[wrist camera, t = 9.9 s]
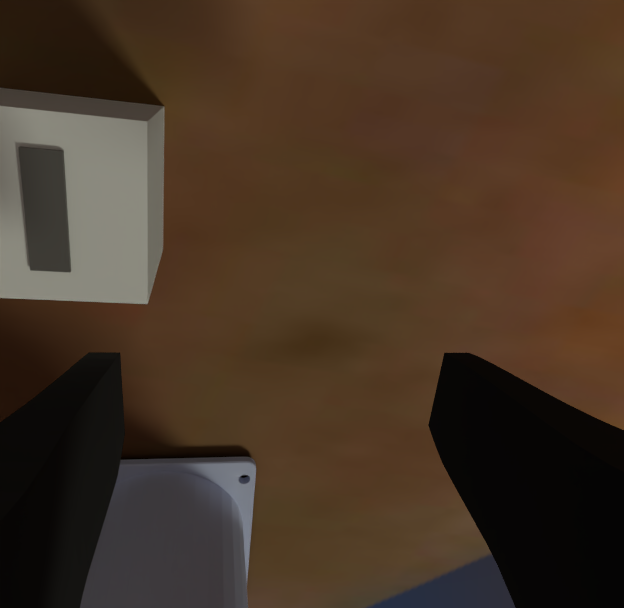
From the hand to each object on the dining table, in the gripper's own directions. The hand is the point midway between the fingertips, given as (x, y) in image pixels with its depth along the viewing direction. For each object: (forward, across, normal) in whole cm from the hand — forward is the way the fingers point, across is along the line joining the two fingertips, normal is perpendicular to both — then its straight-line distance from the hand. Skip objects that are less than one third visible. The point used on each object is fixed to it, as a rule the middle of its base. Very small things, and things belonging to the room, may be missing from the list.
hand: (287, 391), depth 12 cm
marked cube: (+10, +6, -3) cm, 12 cm away
